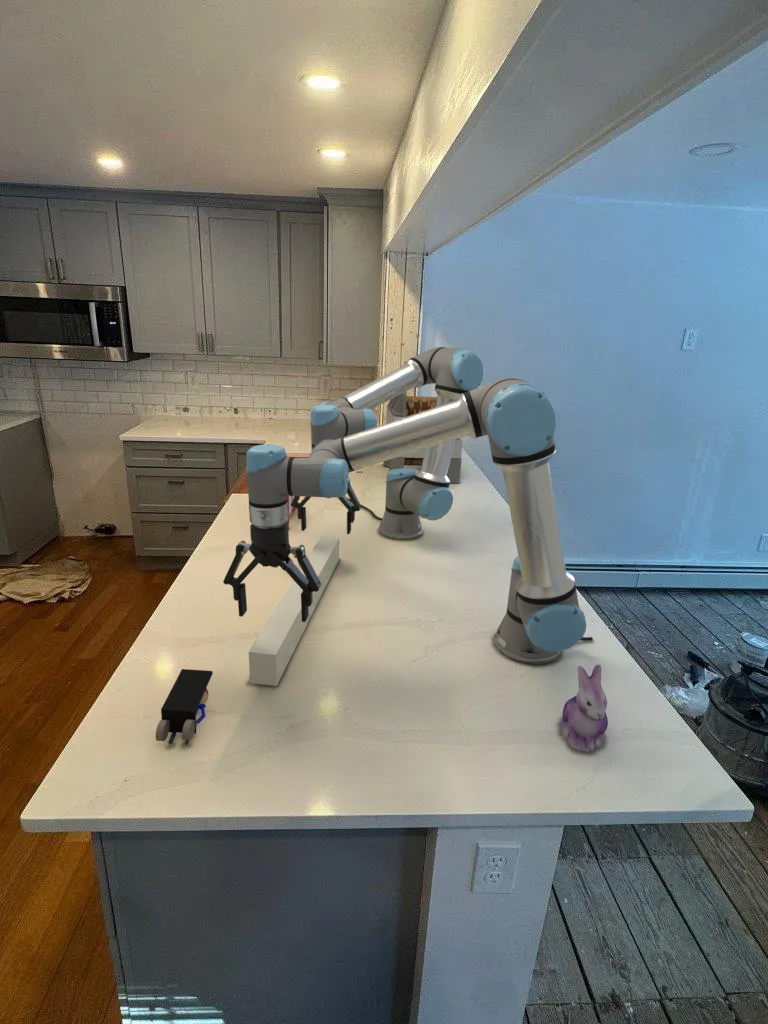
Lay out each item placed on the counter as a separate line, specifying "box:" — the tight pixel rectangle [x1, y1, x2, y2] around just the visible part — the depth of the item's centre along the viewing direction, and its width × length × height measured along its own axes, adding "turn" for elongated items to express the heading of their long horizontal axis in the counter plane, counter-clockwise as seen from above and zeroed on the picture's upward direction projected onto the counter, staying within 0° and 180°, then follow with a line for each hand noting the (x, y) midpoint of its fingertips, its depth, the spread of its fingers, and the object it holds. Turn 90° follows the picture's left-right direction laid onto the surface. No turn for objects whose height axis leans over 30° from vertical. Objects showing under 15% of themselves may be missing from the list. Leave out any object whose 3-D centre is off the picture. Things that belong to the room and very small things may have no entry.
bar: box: [248, 535, 340, 687], centre depth 147 cm, size 64×6×8 cm, turn 173°
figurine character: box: [155, 668, 214, 746], centre depth 105 cm, size 7×8×15 cm
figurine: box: [560, 663, 609, 753], centre depth 105 cm, size 9×10×15 cm
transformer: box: [382, 391, 464, 484], centre depth 268 cm, size 34×33×41 cm
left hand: (326, 530), depth 167 cm, fingers open, 13 cm apart
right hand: (273, 616), depth 120 cm, fingers open, 13 cm apart
